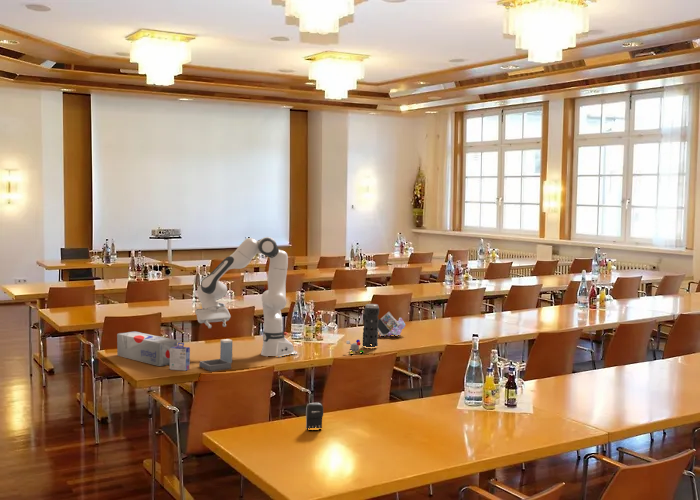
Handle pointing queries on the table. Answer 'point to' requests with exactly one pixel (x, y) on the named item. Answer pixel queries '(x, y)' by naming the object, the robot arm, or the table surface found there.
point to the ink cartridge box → (180, 357)
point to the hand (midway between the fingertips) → (217, 326)
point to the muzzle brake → (370, 325)
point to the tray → (215, 365)
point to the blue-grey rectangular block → (226, 350)
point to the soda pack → (145, 347)
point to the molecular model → (354, 346)
